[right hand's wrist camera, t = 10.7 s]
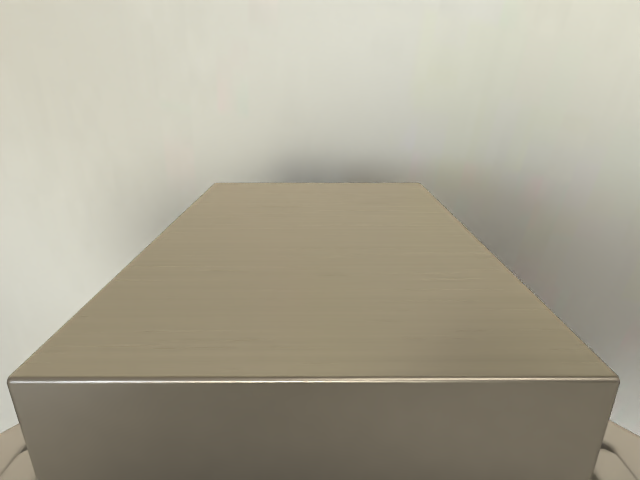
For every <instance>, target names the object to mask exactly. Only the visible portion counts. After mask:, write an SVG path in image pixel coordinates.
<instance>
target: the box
mask: <svg viewBox="0 0 640 480" xmlns="http://www.w3.org/2000/svg"><path fill="white" fill-rule="evenodd" d="M619 384H620V380H619V377H618V375H617V374H616V373H615V372H614V371H613V370H611V369H610V368H609V367H608V366H607V365H606V364H605V363H604V362H603V361H602V360H601V359H600V358H599V357H598V356H597V355H596V354H595V353H594V352H593V351H592V350H591V349H590V348H589V347H588V346H587V345H586V344H585V343H584V342H583V341H582V340H581V339H580V338H579V337H578V336H577V335H576V334H575V333H573V332H572V331H571V330H570V329H569V328H568V327H567V326H566V325H565V324H564V323H563V322H562V321H561V320H560V319H559V318H558V317H557V316H556V315H555V314H554V313H553V312H552V311H551V310H550V309H549V308H548V307H547V306H546V305H545V304H544V303H543V302H542V301H541V300H540V299H539V298H538V297H536V296H535V295H534V294H533V293H532V292H531V291H530V290H529V289H528V288H527V287H526V286H525V285H524V284H523V283H522V282H521V281H520V280H519V279H518V278H517V277H516V276H515V275H514V274H513V273H512V272H511V271H510V270H509V269H508V268H507V267H506V266H505V265H504V264H503V263H502V262H501V261H500V260H498V259H497V258H496V257H495V256H494V255H493V254H492V253H491V252H490V251H489V250H488V249H487V248H486V247H485V246H484V245H483V244H482V243H481V242H480V241H479V240H478V239H477V238H476V237H475V236H474V235H473V234H472V233H471V232H470V231H469V230H468V229H467V228H466V227H465V226H464V225H463V224H462V223H460V222H459V221H458V220H457V219H456V218H455V217H454V216H453V215H452V214H451V213H450V212H449V211H448V210H447V209H446V208H445V207H444V206H443V205H442V204H441V203H440V202H439V201H438V200H437V199H436V198H435V197H434V196H433V195H432V194H431V193H430V192H429V191H428V190H427V189H426V188H425V187H424V186H422V185H421V184H420V183H214V184H213V185H212V186H211V187H210V188H209V189H208V190H207V191H206V192H205V193H204V194H203V195H202V196H201V197H200V198H198V199H197V200H196V201H195V202H194V203H193V204H192V205H191V206H190V207H189V208H188V209H187V210H186V211H185V212H184V213H182V214H181V215H180V216H179V217H178V218H177V219H176V220H175V221H174V222H173V223H172V224H171V225H170V226H169V227H168V228H167V229H165V230H164V231H163V232H162V233H161V234H160V235H159V236H158V237H157V238H156V239H155V240H154V241H153V242H152V243H151V244H149V245H148V246H147V247H146V248H145V249H144V250H143V251H142V252H141V253H140V254H139V255H138V256H137V257H136V258H135V259H133V260H132V261H131V262H130V263H129V264H128V265H127V266H126V267H125V268H124V269H123V270H122V271H121V272H120V273H119V274H118V275H116V276H115V277H114V278H113V279H112V280H111V281H110V282H109V283H108V284H107V285H106V286H105V287H104V288H103V289H102V290H100V291H99V292H98V293H97V294H96V295H95V296H94V297H93V298H92V299H91V300H90V301H89V302H88V303H87V304H86V305H84V306H83V307H82V308H81V309H80V310H79V311H78V312H77V313H76V314H75V315H74V316H73V317H72V318H71V319H70V320H69V321H67V322H66V323H65V324H64V325H63V326H62V327H61V328H60V329H59V330H58V331H57V332H56V333H55V334H54V335H53V336H51V337H50V338H49V339H48V340H47V341H46V342H45V343H44V344H43V345H42V346H41V347H40V348H39V349H38V350H37V351H36V352H34V353H33V354H32V355H31V356H30V357H29V358H28V359H27V360H26V361H25V362H24V363H23V364H22V365H21V366H20V367H18V368H17V369H16V370H15V371H14V372H13V373H12V374H11V375H10V376H9V377H8V379H7V385H8V388H9V392H10V395H11V398H12V401H13V404H14V408H15V411H16V414H17V417H18V421H19V424H20V427H21V430H22V434H23V437H24V440H25V443H26V447H27V450H28V453H29V456H30V459H31V463H32V466H33V469H34V472H35V476H36V479H37V480H591V479H592V475H593V472H594V468H595V465H596V462H597V458H598V455H599V451H600V448H601V445H602V441H603V438H604V435H605V431H606V428H607V424H608V421H609V418H610V414H611V411H612V408H613V404H614V401H615V397H616V394H617V391H618V387H619Z"/></svg>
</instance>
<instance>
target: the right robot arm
mask: <svg viewBox="0 0 640 480" xmlns="http://www.w3.org/2000/svg"><path fill="white" fill-rule="evenodd" d="M0 480H37V479H36V476H35V472H34V469H33V466H32V463H31V459H30V456H29V453H28V450H27V447H26V443H25V440H24V437H23V434H22V430H21V427H20V424H17V425H15V426H13V427H12V428H10V429H8V430H6V431H4V432H2V433H0ZM591 480H640V437H639V436H638V435H636V434H634V433H632V432H630V431H628V430H627V429H625V428H623V427H621V426H619V425H617V424H616V423H614V422H612V421H610V420H609V421H608V424H607V428H606V431H605V435H604V438H603V441H602V445H601V448H600V451H599V455H598V458H597V462H596V465H595V468H594V472H593V475H592V479H591Z"/></svg>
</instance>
